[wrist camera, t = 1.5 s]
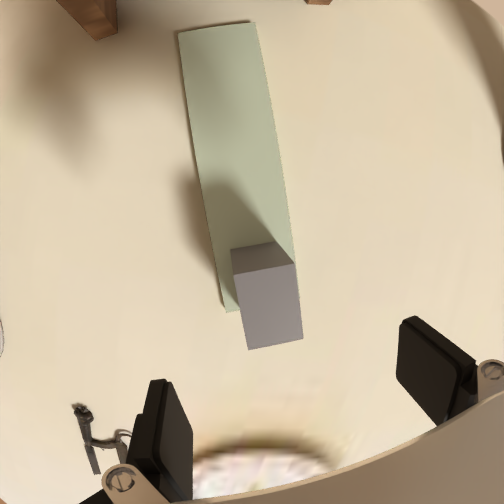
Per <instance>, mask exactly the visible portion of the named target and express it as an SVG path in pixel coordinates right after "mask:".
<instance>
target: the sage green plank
mask: <svg viewBox="0 0 504 504" xmlns="http://www.w3.org/2000/svg"><path fill="white" fill-rule="evenodd" d="M178 40H179V48H180V56H181V63H182V71H183V78H184V85H185V92H186V99H187V105H188V112H189V118H190V125H191V131H192V137H193V143H194V149H195V155H196V161H197V167H198V173H199V179H200V184H201V190H202V195H203V201H204V206H205V212H206V217H207V222H208V227H209V233H210V238H211V243H212V248H213V253H214V258H215V263H216V268H217V273H218V277H219V282H220V287H221V292H222V296H223V301H224V306H225V310H226V313H227V312H232V311H238V310H240V312H241V317H242V322H243V327H244V332H245V337H246V342H247V347H248V350H252V349H257V348H262V347H267V346H272V345H277V344H282V343H286V342H291V341H296V340H300V339H303V329H302V320H301V311H300V302H299V298H300V295H299V287H298V278H297V270H296V262H295V254H294V246H293V239H292V231H291V224H290V217H289V210H288V203H287V196H286V189H285V183H284V176H283V170H282V164H281V157H280V151H279V145H278V139H277V133H276V127H275V122H274V116H273V110H272V105H271V99H270V94H269V89H268V83H267V78H266V73H265V68H264V63H263V58H262V53H261V48H260V43H259V39H258V34H257V29H256V25H255V22H253V23H242V24H232V25H224V26H216V27H210V28H203V29H197V30H192V31H186V32H181V33H178Z"/></svg>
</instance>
